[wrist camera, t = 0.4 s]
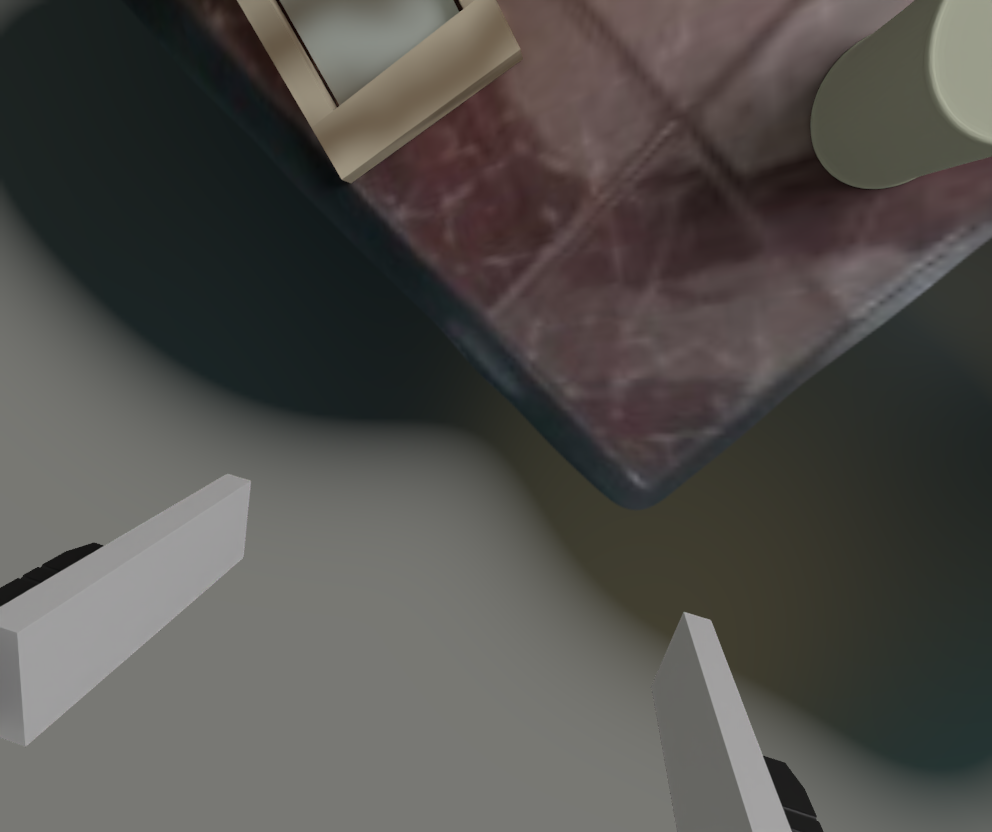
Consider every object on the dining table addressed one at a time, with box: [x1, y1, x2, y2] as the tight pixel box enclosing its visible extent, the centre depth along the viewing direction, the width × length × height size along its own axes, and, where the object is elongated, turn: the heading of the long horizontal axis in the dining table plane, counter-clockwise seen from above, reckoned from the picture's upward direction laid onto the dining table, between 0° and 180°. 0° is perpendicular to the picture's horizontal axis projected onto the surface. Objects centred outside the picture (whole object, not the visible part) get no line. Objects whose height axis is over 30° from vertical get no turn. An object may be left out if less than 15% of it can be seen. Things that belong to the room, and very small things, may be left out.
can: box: [810, 0, 992, 189], centre depth 26 cm, size 9×9×12 cm
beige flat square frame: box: [237, 0, 523, 183], centre depth 34 cm, size 16×15×2 cm
